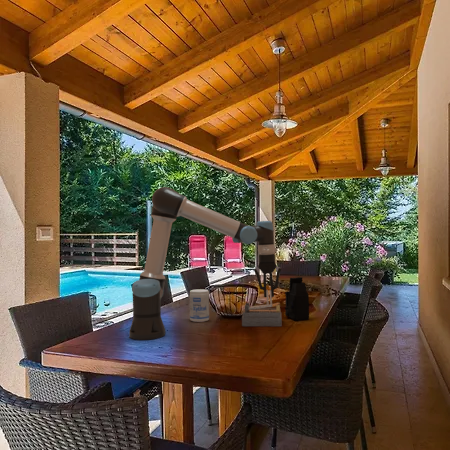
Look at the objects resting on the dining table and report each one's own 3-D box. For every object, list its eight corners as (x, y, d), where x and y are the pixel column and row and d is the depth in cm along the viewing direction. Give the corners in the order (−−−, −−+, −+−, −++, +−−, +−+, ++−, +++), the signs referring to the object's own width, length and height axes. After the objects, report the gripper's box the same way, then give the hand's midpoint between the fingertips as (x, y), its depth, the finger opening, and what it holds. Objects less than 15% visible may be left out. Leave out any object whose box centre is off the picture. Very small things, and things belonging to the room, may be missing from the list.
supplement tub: (193, 323, 202) (192, 292, 202) (187, 319, 211) (186, 290, 211) (212, 321, 206) (211, 290, 206) (205, 317, 215) (204, 288, 215)
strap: (245, 310, 198) (245, 308, 198) (246, 309, 201) (245, 306, 201) (279, 306, 196) (278, 303, 196) (279, 304, 199) (278, 302, 199)
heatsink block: (242, 326, 194) (241, 306, 194) (244, 320, 206) (243, 301, 206) (281, 326, 191) (281, 306, 191) (281, 320, 203) (281, 301, 203)
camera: (298, 314, 216) (297, 275, 217) (311, 319, 203) (310, 278, 204) (280, 316, 213) (279, 276, 213) (293, 321, 200) (292, 279, 200)
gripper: (251, 255, 195) (254, 306, 195) (281, 253, 194) (284, 305, 194) (252, 253, 203) (255, 303, 203) (281, 252, 201) (284, 302, 201)
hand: (269, 304), depth 198 cm, fingers closed
